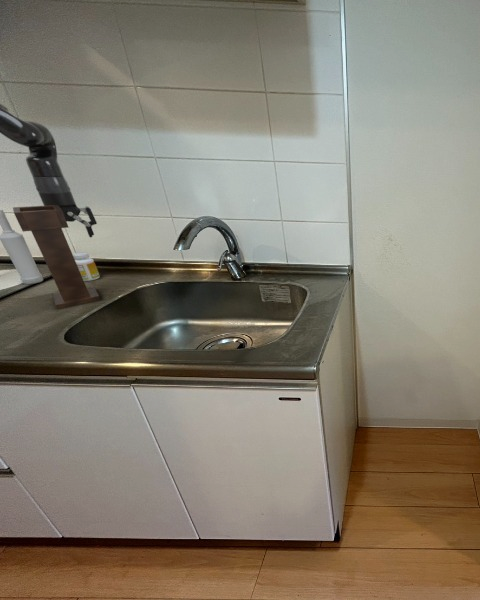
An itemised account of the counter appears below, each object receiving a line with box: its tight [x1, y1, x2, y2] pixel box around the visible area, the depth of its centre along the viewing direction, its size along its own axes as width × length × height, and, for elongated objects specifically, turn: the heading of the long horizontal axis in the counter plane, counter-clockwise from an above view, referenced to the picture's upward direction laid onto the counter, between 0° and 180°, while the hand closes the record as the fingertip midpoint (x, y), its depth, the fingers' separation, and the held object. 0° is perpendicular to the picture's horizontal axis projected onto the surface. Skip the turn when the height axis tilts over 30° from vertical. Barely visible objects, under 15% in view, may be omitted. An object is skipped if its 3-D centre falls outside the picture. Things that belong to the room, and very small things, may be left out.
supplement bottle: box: [72, 251, 101, 282], centre depth 113 cm, size 5×5×10 cm
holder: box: [12, 205, 101, 310], centre depth 94 cm, size 10×10×29 cm
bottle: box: [0, 209, 44, 285], centre depth 104 cm, size 5×5×25 cm
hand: (74, 238), depth 108 cm, fingers open, 8 cm apart
